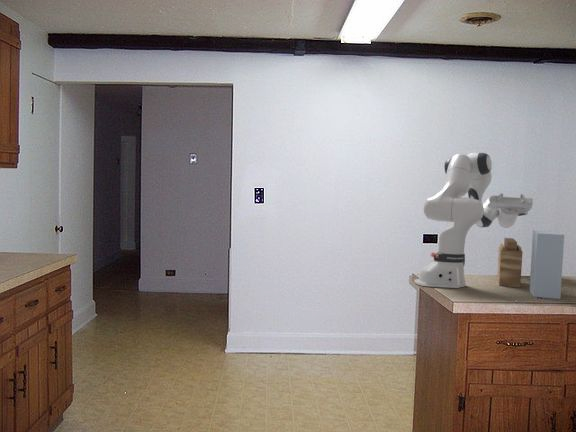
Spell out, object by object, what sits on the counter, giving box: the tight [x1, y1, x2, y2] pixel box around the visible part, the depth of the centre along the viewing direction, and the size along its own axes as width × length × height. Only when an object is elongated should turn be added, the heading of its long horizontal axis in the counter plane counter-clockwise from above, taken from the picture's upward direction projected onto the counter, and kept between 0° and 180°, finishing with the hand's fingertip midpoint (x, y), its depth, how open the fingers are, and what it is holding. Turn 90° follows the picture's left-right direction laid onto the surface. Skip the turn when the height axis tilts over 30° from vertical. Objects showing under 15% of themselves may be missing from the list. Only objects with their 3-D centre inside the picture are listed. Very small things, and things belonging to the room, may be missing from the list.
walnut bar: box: [503, 237, 518, 251], centre depth 277 cm, size 20×4×4 cm, turn 164°
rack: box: [496, 243, 524, 288], centre depth 276 cm, size 16×9×18 cm, turn 164°
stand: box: [528, 230, 565, 300], centre depth 250 cm, size 16×10×26 cm, turn 164°
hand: (511, 195), depth 291 cm, fingers open, 8 cm apart
